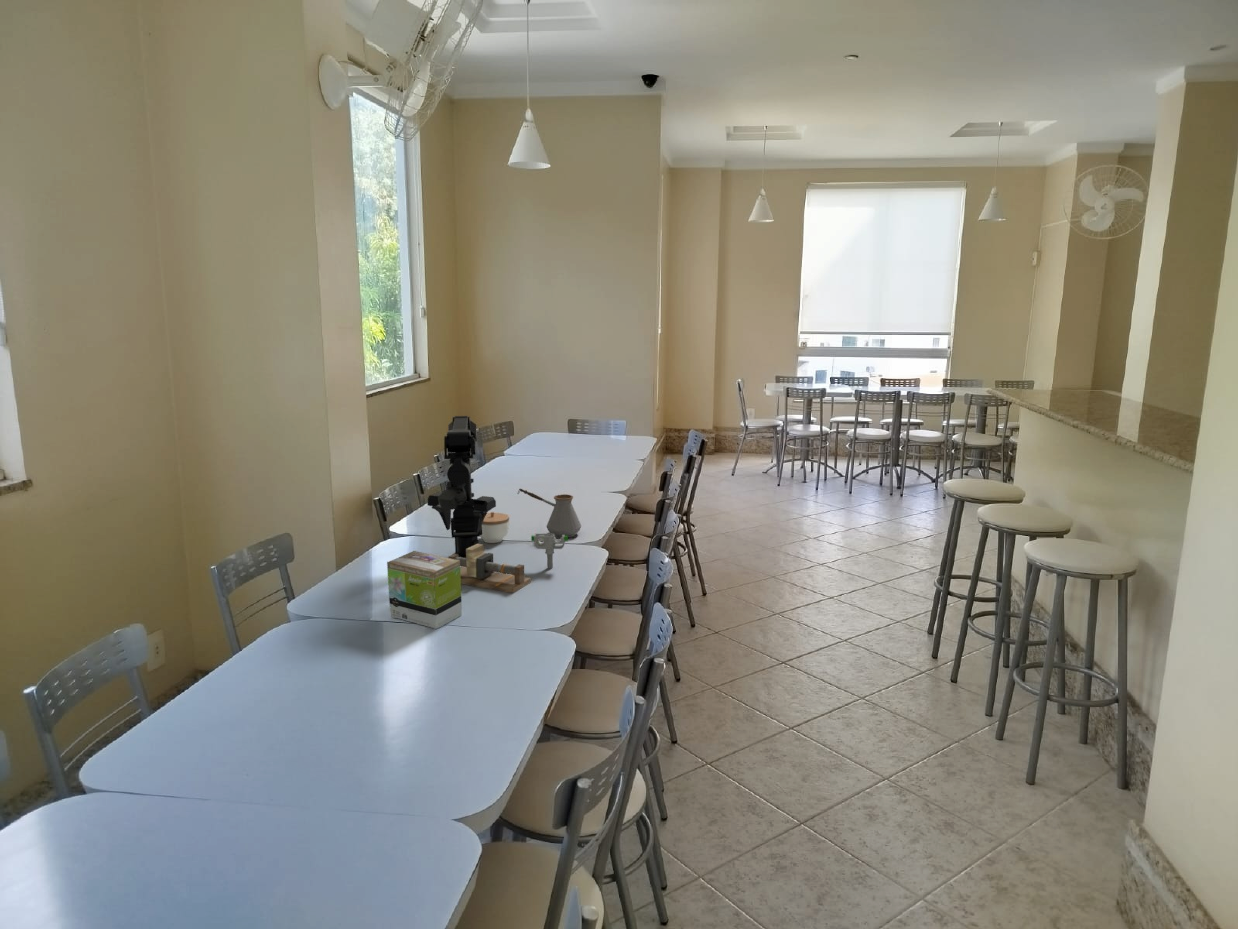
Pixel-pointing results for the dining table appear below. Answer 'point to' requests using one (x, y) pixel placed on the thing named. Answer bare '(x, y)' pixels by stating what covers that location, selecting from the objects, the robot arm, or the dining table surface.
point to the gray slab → (480, 565)
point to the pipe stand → (495, 576)
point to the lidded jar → (494, 527)
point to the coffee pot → (561, 515)
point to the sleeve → (473, 559)
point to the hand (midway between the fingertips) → (462, 531)
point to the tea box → (424, 589)
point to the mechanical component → (548, 545)
